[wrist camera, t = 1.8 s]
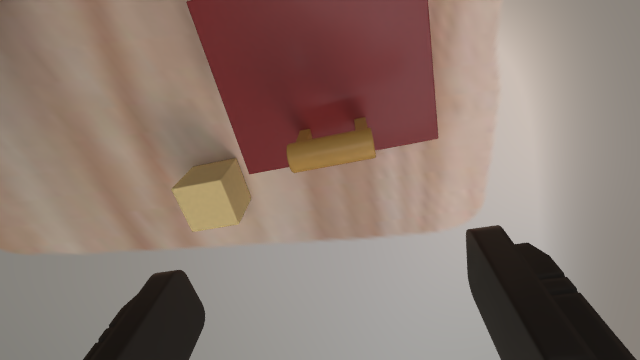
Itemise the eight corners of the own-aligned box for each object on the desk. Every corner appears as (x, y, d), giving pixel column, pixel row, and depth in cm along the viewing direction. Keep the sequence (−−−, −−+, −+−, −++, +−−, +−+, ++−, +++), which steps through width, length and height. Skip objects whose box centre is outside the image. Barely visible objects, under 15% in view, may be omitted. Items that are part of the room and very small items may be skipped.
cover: (435, 135, 21) (461, 169, 17) (251, 170, 23) (229, 209, 19) (419, -64, 16) (448, -93, 12) (191, 2, 18) (141, -1, 14)
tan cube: (210, 205, 31) (192, 232, 27) (192, 166, 29) (170, 189, 26) (251, 198, 30) (238, 224, 27) (236, 157, 29) (220, 179, 25)
